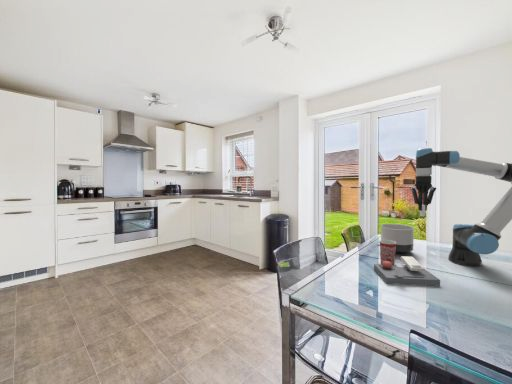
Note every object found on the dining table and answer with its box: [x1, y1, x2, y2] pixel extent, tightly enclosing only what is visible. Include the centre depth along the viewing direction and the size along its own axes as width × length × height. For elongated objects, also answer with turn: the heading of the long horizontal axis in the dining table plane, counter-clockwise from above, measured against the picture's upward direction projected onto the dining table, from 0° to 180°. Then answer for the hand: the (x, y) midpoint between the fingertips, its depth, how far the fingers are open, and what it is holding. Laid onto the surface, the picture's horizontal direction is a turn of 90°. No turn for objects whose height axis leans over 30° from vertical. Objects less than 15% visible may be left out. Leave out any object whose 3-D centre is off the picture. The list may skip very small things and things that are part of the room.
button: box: [381, 261, 392, 268], centre depth 127 cm, size 4×4×2 cm
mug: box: [379, 239, 397, 265], centre depth 142 cm, size 13×9×14 cm
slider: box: [395, 264, 404, 277], centre depth 116 cm, size 3×3×5 cm
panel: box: [373, 263, 441, 287], centre depth 122 cm, size 24×18×5 cm
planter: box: [380, 223, 415, 254], centre depth 161 cm, size 19×19×18 cm
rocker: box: [400, 256, 425, 271], centre depth 124 cm, size 6×12×2 cm, turn 171°
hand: (422, 216), depth 135 cm, fingers closed
